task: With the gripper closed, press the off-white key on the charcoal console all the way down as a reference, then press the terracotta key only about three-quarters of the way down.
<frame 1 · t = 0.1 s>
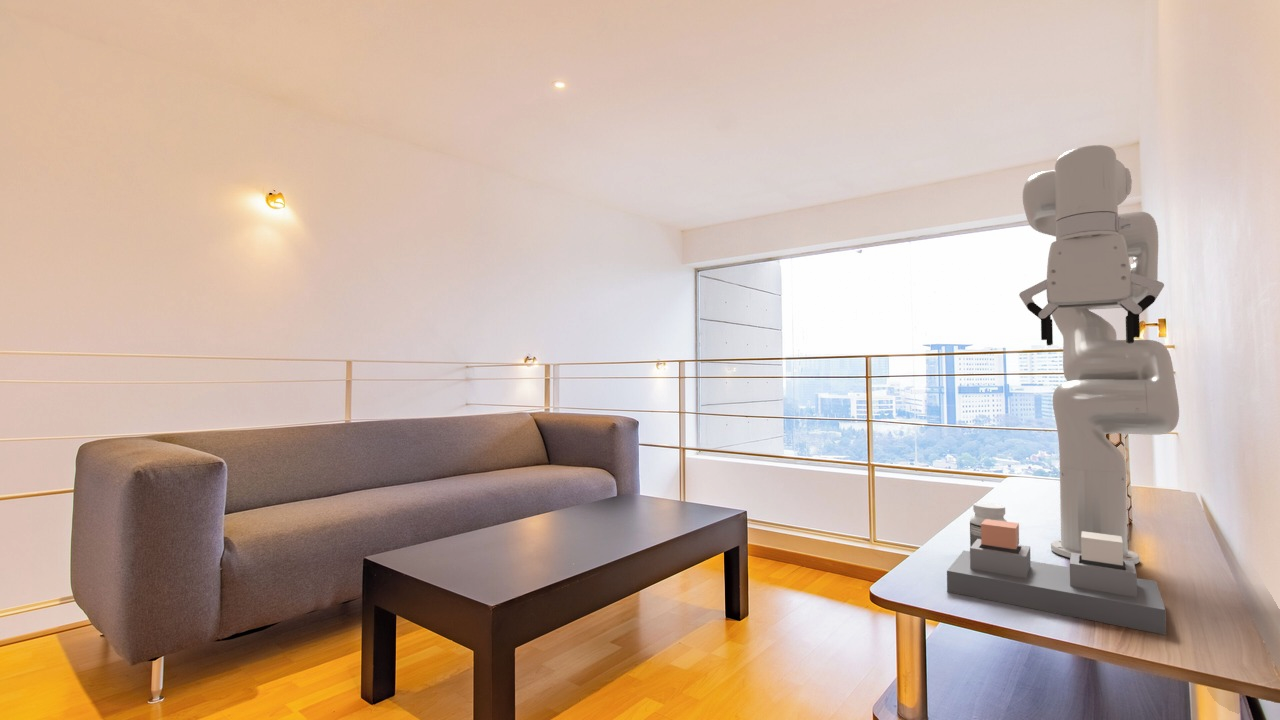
hand: (1088, 343, 89), 37 cm above the table, tool pointing down, fingers open, 9 cm apart
pill bottle: (989, 565, 101), on the table
console: (1049, 596, 85), on the table
terracotta key: (1000, 533, 89), point 8 cm above the table, slide at 0.0 cm
pale key: (1101, 547, 82), point 8 cm above the table, slide at 0.0 cm
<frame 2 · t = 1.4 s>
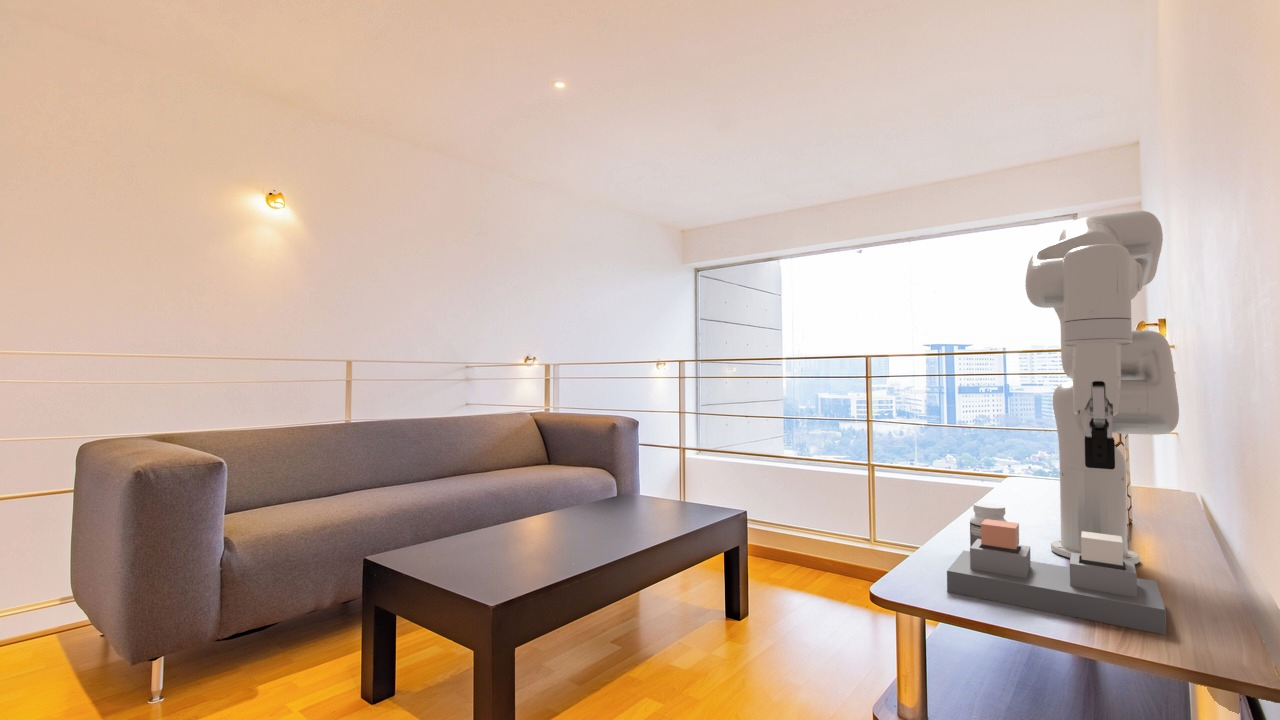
hand: (1099, 465, 82), 19 cm above the table, tool pointing down, fingers open, 3 cm apart
nothing on the table moved.
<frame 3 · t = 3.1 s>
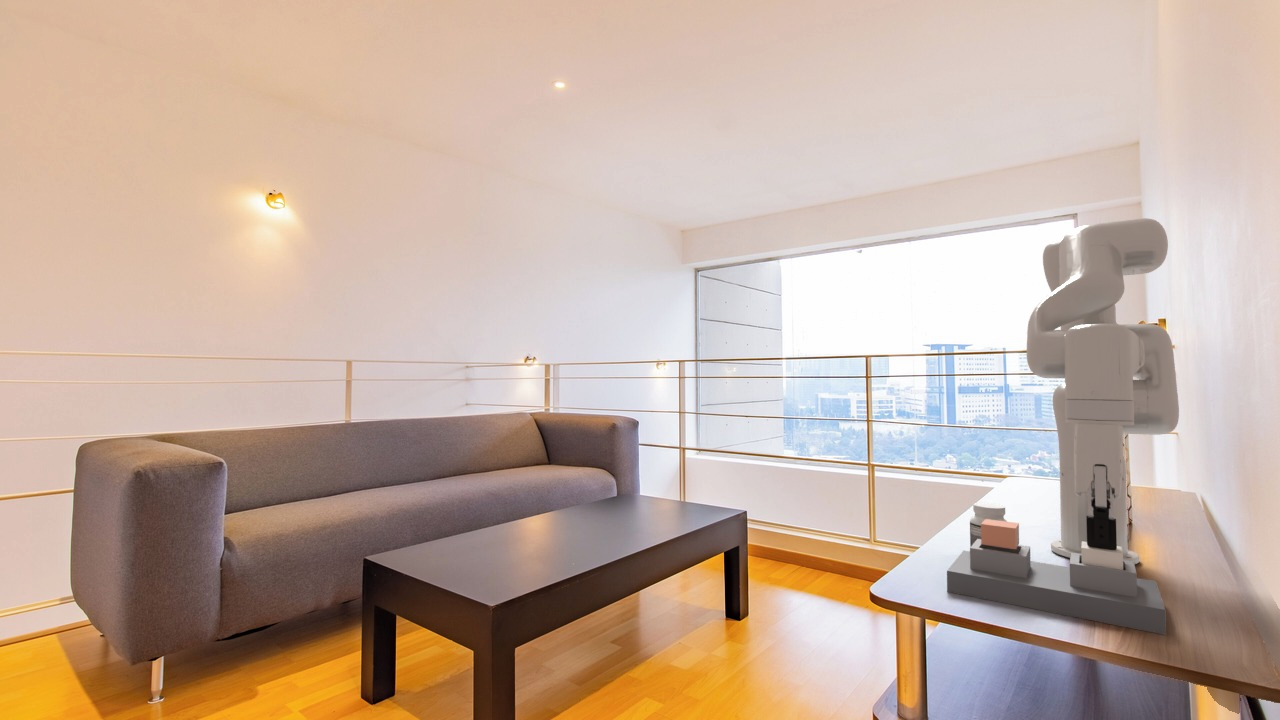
hand: (1101, 547, 81), 8 cm above the table, tool pointing down, fingers closed
pale key: (1101, 558, 81), point 7 cm above the table, slide at 1.4 cm, touching gripper
everything else where it was.
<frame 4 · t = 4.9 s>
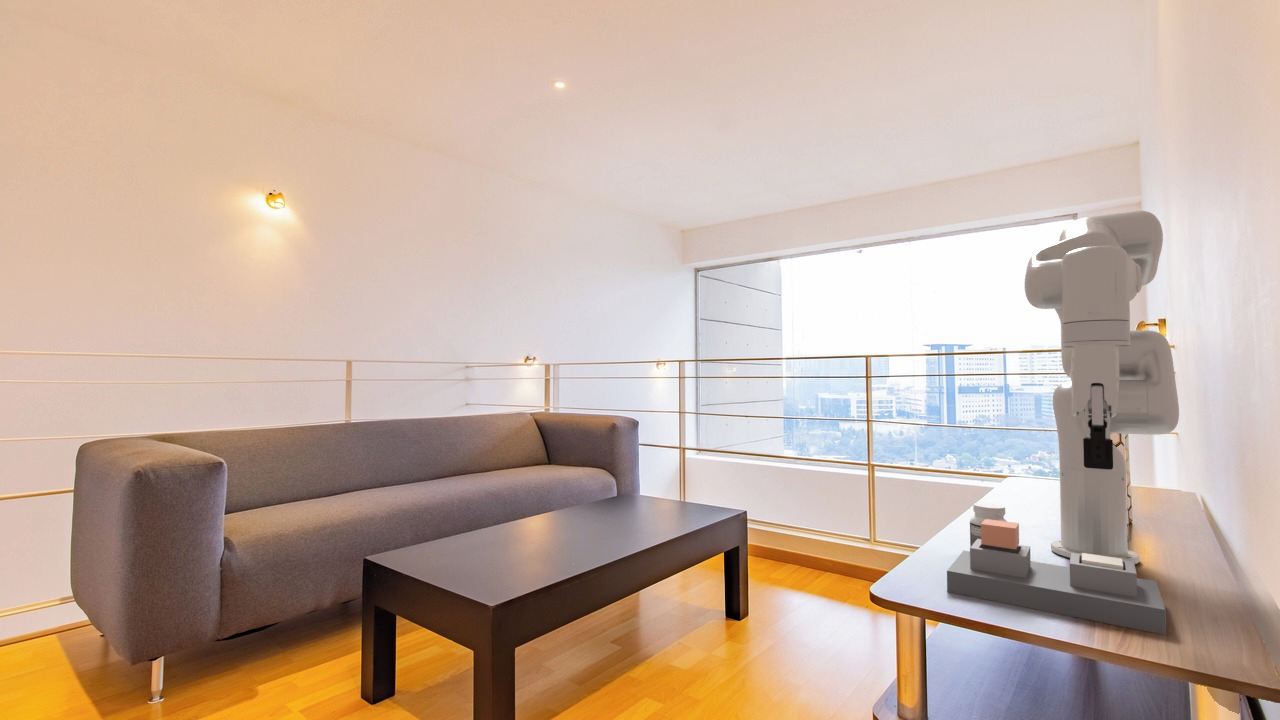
hand: (1098, 467, 82), 19 cm above the table, tool pointing down, fingers closed
pale key: (1102, 570, 81), point 5 cm above the table, slide at 3.1 cm
everything else where it was.
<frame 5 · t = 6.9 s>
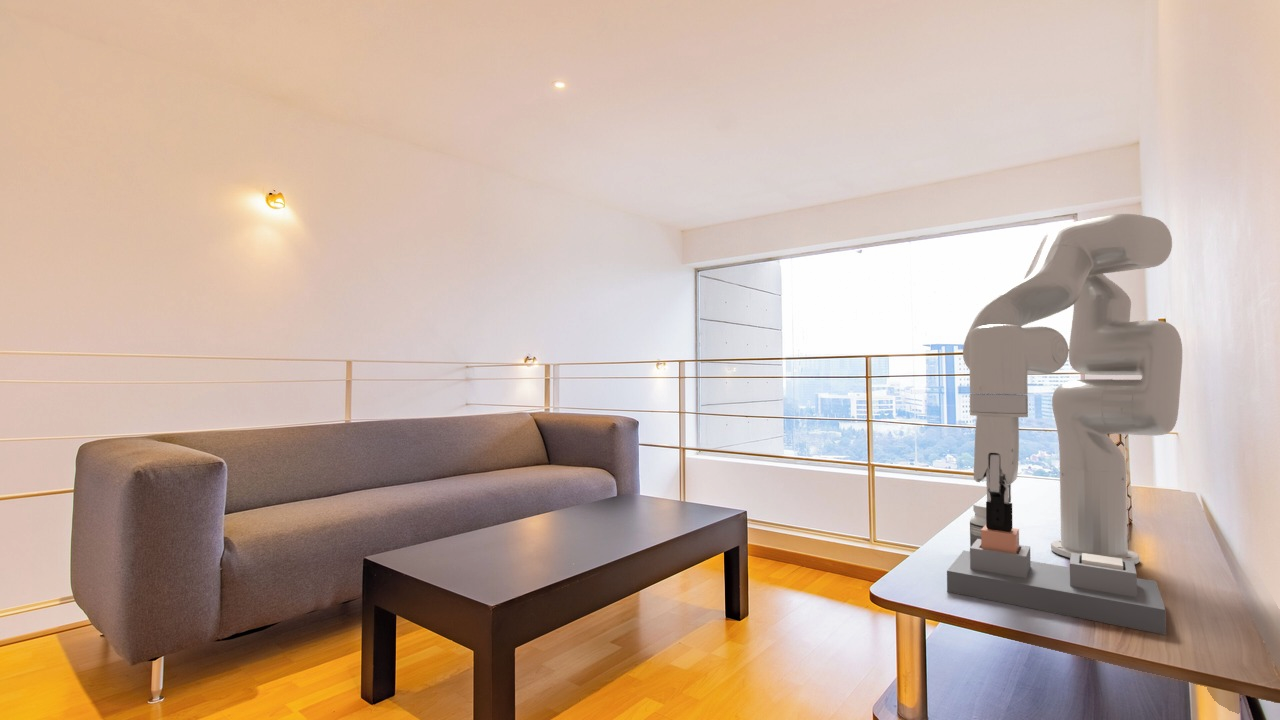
hand: (999, 529, 89), 9 cm above the table, tool pointing down, fingers closed
terracotta key: (1000, 539, 89), point 7 cm above the table, slide at 0.9 cm, touching gripper
everything else where it was.
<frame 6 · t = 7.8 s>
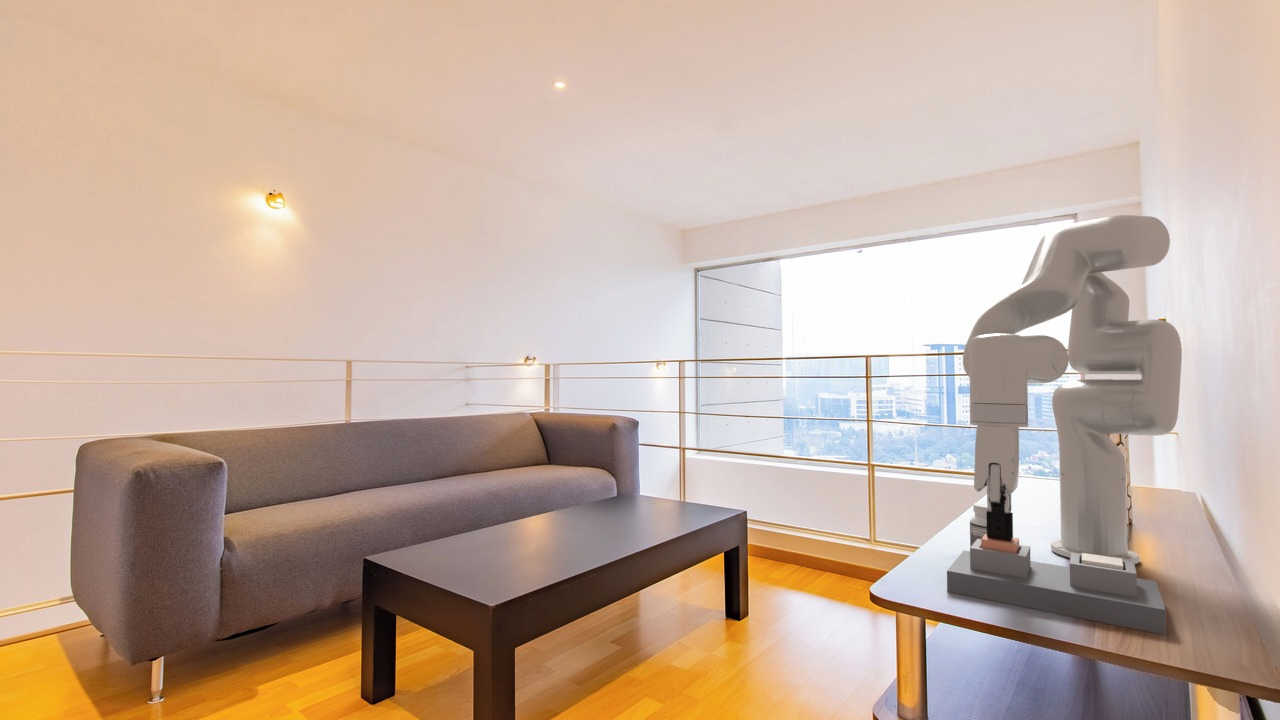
hand: (999, 538, 89), 7 cm above the table, tool pointing down, fingers closed
terracotta key: (1000, 548, 89), point 6 cm above the table, slide at 2.2 cm, touching gripper
everything else where it was.
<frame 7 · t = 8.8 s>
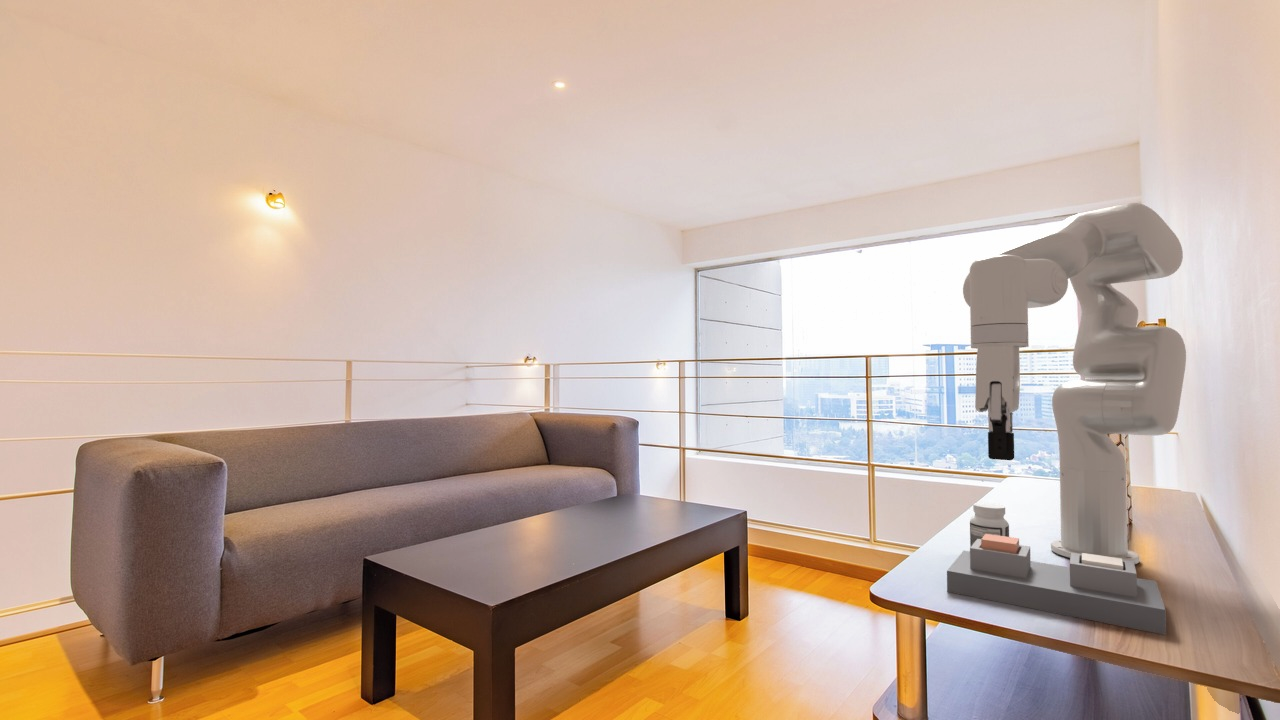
hand: (1001, 458, 90), 19 cm above the table, tool pointing down, fingers closed
terracotta key: (1000, 548, 89), point 6 cm above the table, slide at 2.3 cm
everything else where it was.
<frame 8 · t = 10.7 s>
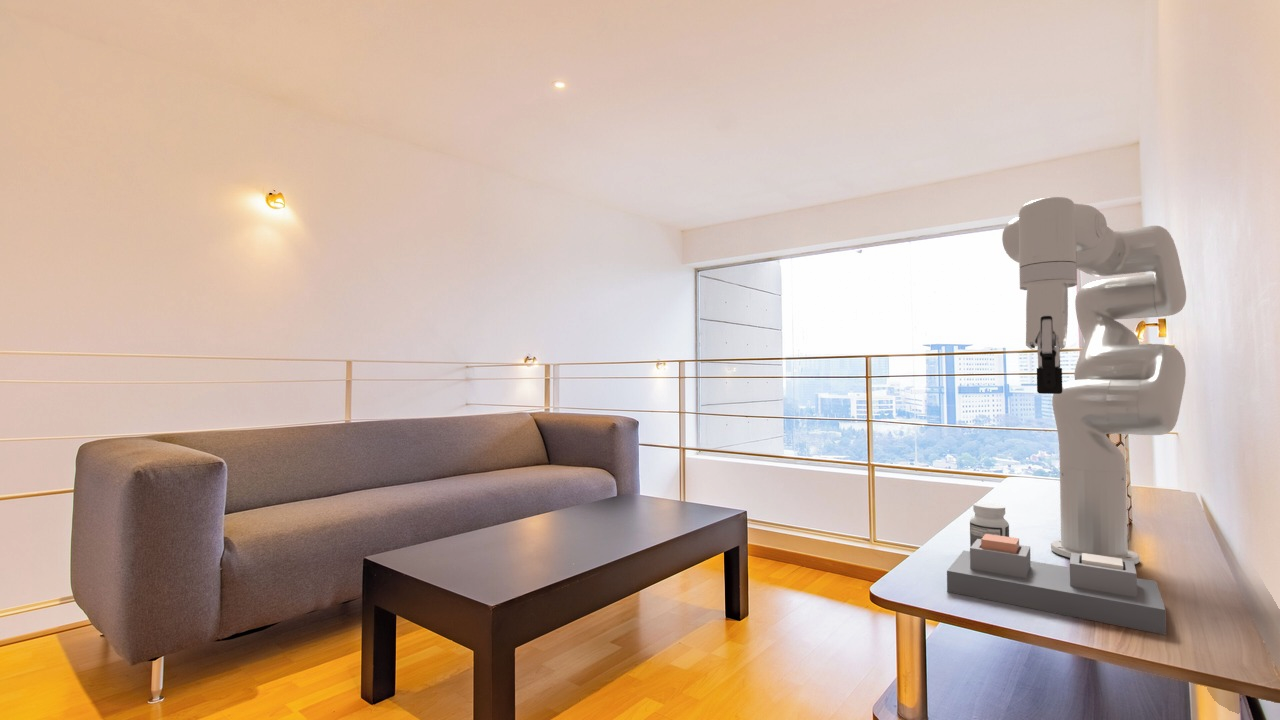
hand: (1049, 393, 93), 29 cm above the table, tool pointing down, fingers closed
nothing on the table moved.
at the end: pale key slide at 3.1 cm; terracotta key slide at 2.3 cm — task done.
